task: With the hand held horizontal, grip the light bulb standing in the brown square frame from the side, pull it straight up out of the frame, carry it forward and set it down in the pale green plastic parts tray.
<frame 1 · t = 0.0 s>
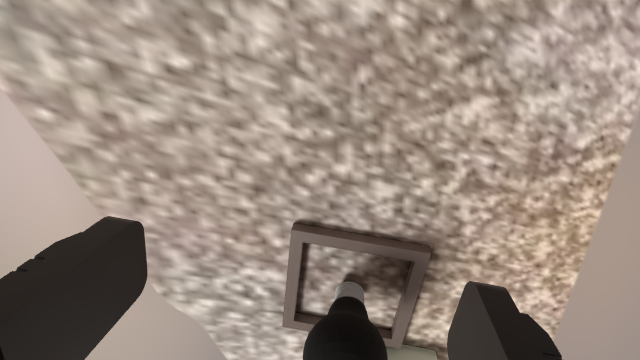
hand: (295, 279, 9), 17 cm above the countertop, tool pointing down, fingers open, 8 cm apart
brown square frame: (350, 285, 31), on the countertop
light bulb: (350, 283, 31), resting in brown square frame
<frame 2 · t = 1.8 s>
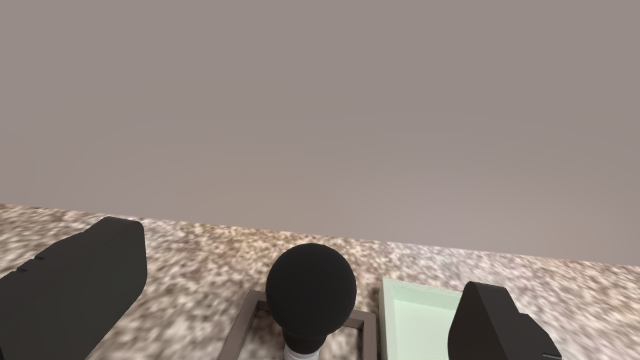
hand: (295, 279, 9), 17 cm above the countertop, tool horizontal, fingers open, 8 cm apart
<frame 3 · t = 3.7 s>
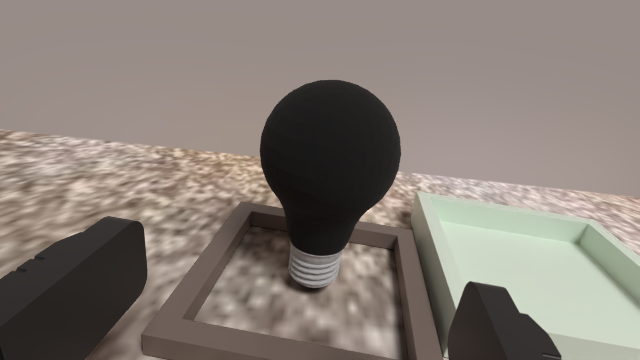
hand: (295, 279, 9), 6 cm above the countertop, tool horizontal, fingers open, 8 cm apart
parts tray: (529, 287, 20), on the countertop
brown square frame: (311, 284, 18), on the countertop
light bulb: (310, 287, 18), resting in brown square frame
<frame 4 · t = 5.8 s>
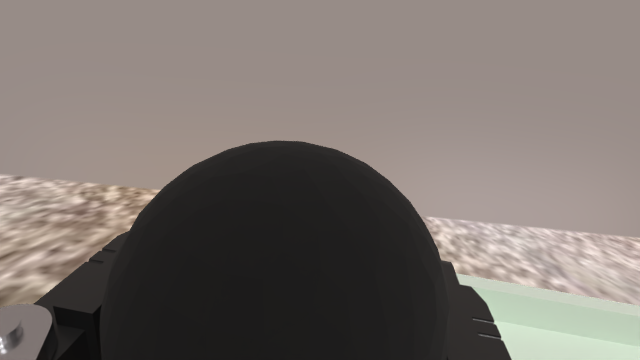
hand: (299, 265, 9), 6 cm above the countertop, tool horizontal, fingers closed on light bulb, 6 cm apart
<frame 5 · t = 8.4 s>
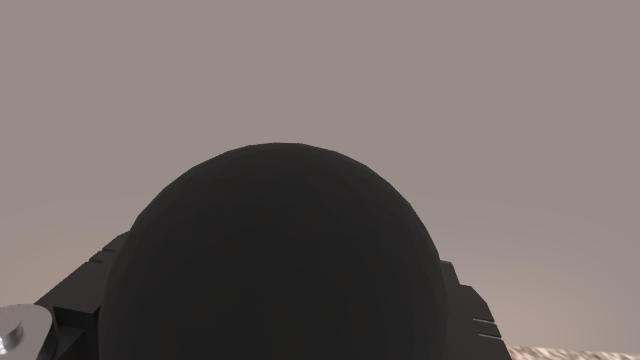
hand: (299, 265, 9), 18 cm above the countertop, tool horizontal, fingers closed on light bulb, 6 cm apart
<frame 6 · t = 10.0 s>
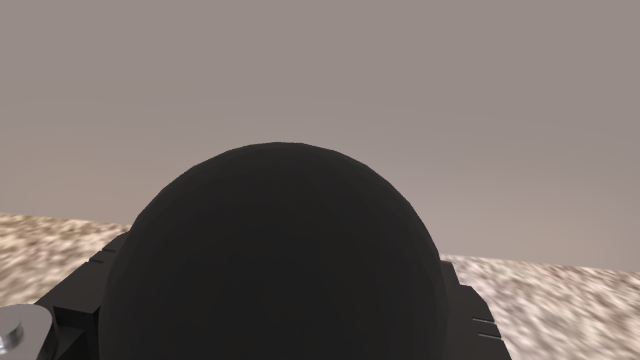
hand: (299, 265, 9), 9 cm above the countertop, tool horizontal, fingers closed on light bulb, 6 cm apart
when the fingers open (8 cm above the countertop, at t = 10.8 s): light bulb moves 1 cm, resting on parts tray.
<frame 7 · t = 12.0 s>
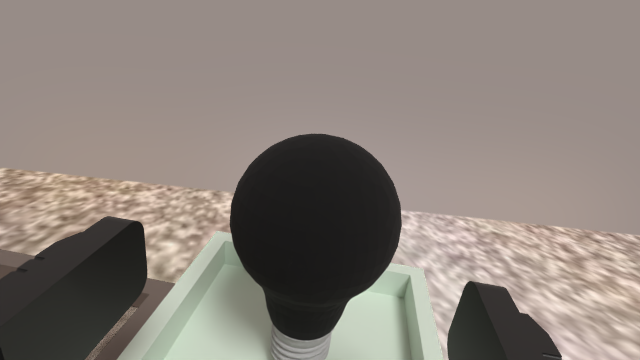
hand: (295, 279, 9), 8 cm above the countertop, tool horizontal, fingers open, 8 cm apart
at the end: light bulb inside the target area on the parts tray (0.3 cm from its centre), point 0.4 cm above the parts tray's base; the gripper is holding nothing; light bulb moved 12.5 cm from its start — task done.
